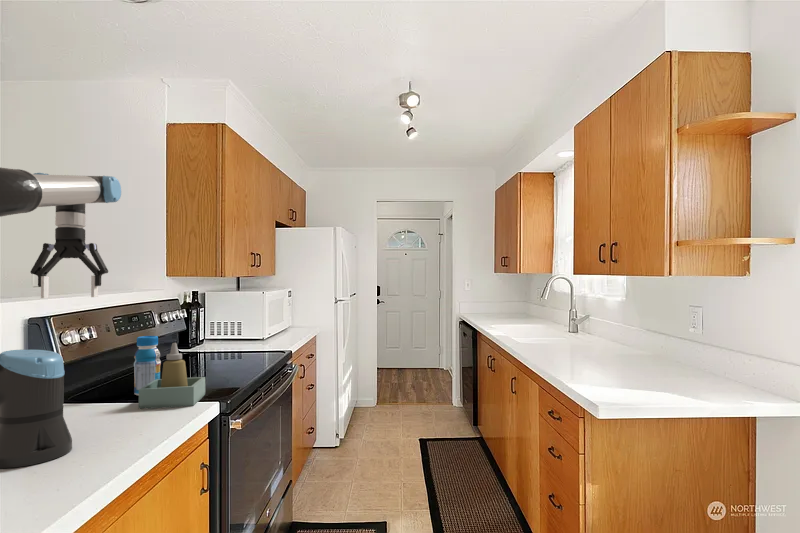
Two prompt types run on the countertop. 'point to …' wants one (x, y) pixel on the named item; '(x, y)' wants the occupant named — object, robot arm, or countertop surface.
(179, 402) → the box
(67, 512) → the countertop surface
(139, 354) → the beverage bottle
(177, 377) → the squeeze bottle
